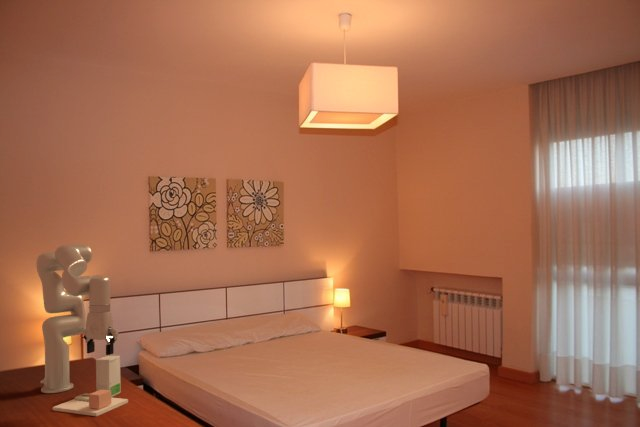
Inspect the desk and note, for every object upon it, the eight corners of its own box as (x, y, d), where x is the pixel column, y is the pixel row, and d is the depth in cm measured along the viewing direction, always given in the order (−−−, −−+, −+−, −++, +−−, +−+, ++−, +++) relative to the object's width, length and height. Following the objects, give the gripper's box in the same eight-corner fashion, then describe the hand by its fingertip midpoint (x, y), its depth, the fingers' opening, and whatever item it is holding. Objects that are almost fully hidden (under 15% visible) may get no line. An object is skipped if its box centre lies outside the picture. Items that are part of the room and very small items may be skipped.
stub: (89, 407, 191) (88, 394, 191) (101, 402, 197) (101, 389, 197) (99, 408, 189) (99, 395, 189) (111, 403, 195) (111, 390, 195)
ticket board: (52, 410, 194) (52, 404, 194) (86, 397, 209) (86, 391, 209) (96, 416, 186) (96, 409, 186) (128, 402, 201) (128, 396, 201)
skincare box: (109, 398, 206) (108, 360, 207) (95, 398, 208) (94, 359, 208) (121, 392, 214) (120, 355, 215) (107, 391, 216) (107, 354, 216)
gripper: (75, 309, 197) (75, 354, 196) (109, 311, 190) (109, 357, 189) (90, 306, 203) (91, 349, 203) (124, 308, 197) (124, 353, 196)
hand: (100, 353), depth 196 cm, fingers open, 9 cm apart
